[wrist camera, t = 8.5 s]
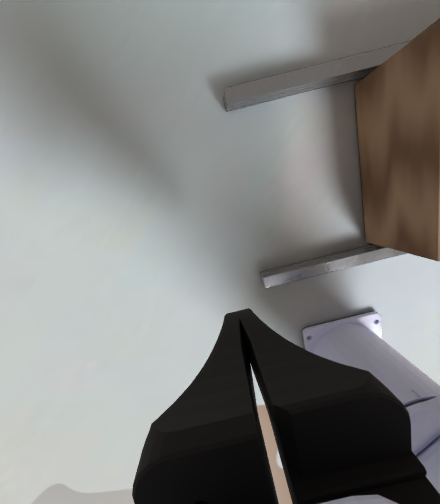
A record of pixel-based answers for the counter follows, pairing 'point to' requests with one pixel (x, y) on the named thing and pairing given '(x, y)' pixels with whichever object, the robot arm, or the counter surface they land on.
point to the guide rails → (297, 84)
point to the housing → (402, 148)
